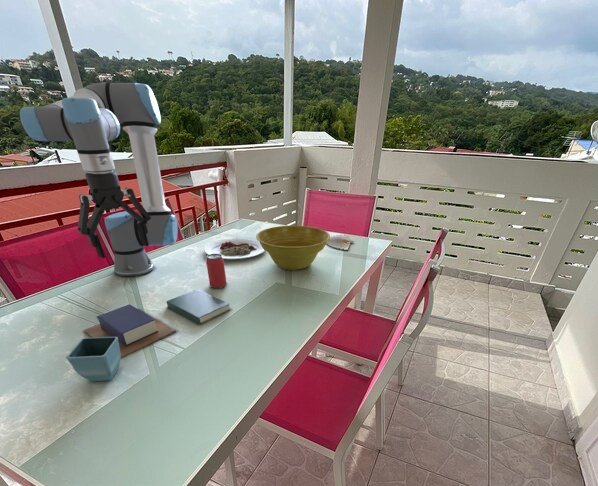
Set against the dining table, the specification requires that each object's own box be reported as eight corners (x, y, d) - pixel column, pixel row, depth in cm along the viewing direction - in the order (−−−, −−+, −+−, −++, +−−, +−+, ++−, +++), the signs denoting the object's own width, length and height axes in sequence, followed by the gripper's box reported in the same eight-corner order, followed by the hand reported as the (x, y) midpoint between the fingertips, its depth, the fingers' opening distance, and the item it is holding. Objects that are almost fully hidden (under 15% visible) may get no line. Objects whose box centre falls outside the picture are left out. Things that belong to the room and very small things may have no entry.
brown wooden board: (84, 331, 102) (83, 329, 102) (138, 310, 114) (138, 308, 114) (119, 358, 91) (119, 356, 91) (176, 331, 103) (175, 330, 102)
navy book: (101, 328, 103) (96, 316, 100) (133, 316, 109) (129, 304, 107) (125, 346, 95) (121, 333, 92) (158, 331, 102) (155, 319, 99)
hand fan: (352, 235, 189) (325, 234, 189) (352, 234, 188) (325, 233, 189) (355, 250, 167) (325, 249, 168) (355, 249, 167) (325, 248, 167)
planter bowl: (244, 271, 143) (242, 240, 136) (276, 249, 168) (275, 221, 160) (314, 283, 134) (315, 251, 126) (337, 258, 158) (339, 229, 150)
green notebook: (167, 307, 116) (166, 301, 114) (198, 295, 124) (197, 289, 122) (199, 324, 107) (198, 317, 105) (230, 309, 115) (229, 303, 113)
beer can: (223, 289, 128) (219, 259, 121) (207, 288, 129) (202, 258, 122) (229, 283, 133) (225, 253, 126) (214, 281, 134) (209, 252, 127)
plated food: (248, 266, 149) (248, 258, 147) (192, 257, 157) (191, 250, 155) (275, 246, 172) (275, 239, 170) (225, 239, 180) (224, 233, 178)
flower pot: (94, 365, 89) (82, 337, 83) (128, 363, 89) (118, 336, 84) (79, 387, 81) (64, 357, 76) (116, 385, 82) (104, 356, 77)
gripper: (54, 179, 77) (87, 266, 90) (151, 168, 93) (168, 243, 105) (41, 175, 81) (75, 259, 93) (137, 165, 96) (155, 238, 109)
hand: (124, 250), depth 99 cm, fingers open, 13 cm apart
